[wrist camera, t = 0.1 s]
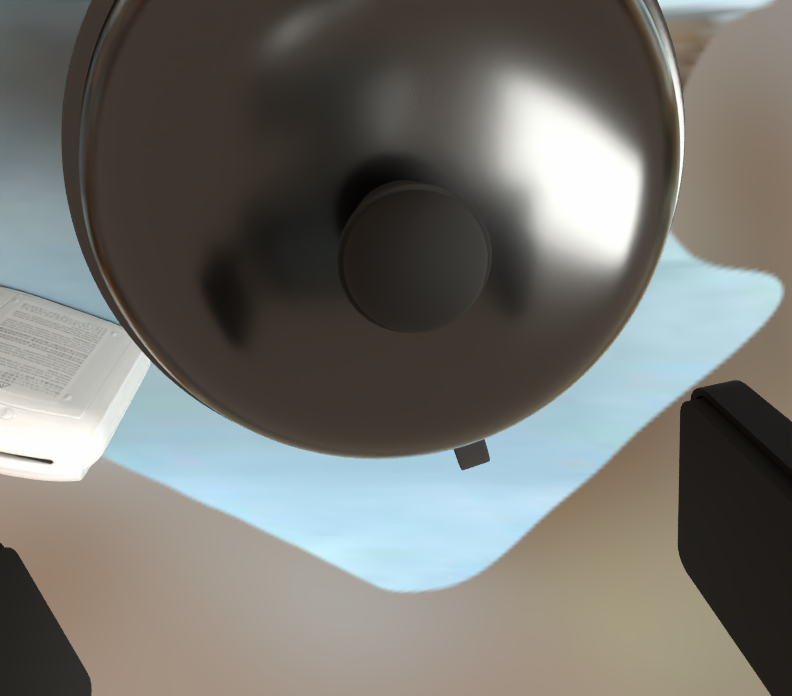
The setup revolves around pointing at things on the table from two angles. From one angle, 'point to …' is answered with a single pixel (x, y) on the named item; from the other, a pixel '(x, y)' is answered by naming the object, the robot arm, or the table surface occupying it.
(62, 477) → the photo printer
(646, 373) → the table surface
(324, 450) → the coffee press
